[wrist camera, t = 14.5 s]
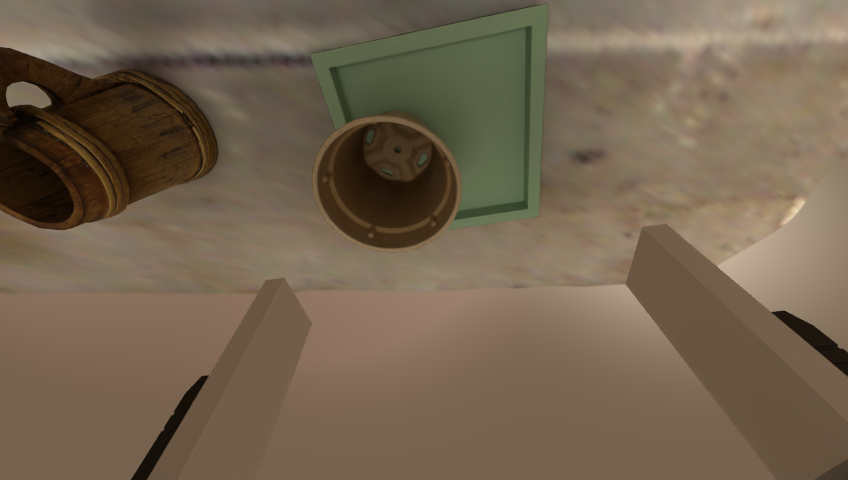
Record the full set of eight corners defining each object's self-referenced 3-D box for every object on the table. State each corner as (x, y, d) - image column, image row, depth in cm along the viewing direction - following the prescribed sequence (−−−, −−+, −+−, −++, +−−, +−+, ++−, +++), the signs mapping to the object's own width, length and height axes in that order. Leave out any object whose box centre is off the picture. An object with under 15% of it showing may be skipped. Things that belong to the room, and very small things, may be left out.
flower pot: (449, 198, 29) (456, 254, 22) (349, 197, 29) (325, 252, 22) (456, 90, 24) (469, 117, 17) (334, 87, 24) (295, 114, 17)
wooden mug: (179, 8, 22) (-336, -22, 7) (228, 183, 29) (33, 344, 15) (44, -10, 21) (-831, -86, 6) (130, 173, 29) (-174, 330, 14)
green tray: (320, 51, 23) (309, 54, 21) (536, 5, 21) (548, 3, 19) (376, 227, 32) (372, 240, 30) (531, 203, 31) (538, 216, 29)
